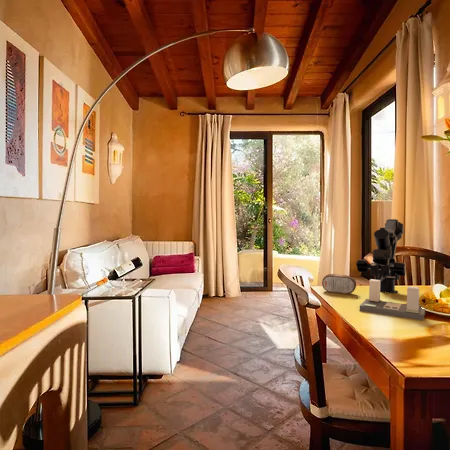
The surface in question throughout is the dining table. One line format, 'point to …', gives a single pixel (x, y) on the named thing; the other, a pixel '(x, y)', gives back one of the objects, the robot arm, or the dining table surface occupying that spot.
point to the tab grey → (413, 298)
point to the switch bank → (392, 309)
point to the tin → (339, 283)
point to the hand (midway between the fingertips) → (377, 283)
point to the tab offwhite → (374, 290)
